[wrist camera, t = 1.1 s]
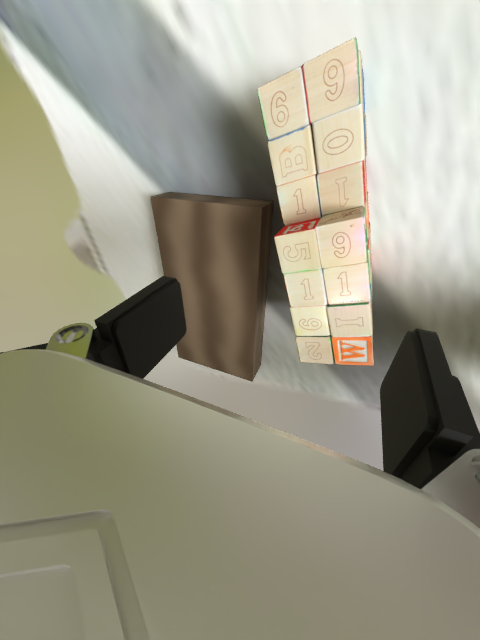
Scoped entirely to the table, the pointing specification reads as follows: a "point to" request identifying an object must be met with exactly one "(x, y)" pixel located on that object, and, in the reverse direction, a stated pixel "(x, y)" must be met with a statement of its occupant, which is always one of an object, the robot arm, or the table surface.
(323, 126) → the stack of blocks
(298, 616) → the robot arm
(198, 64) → the table surface
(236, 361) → the plinth
